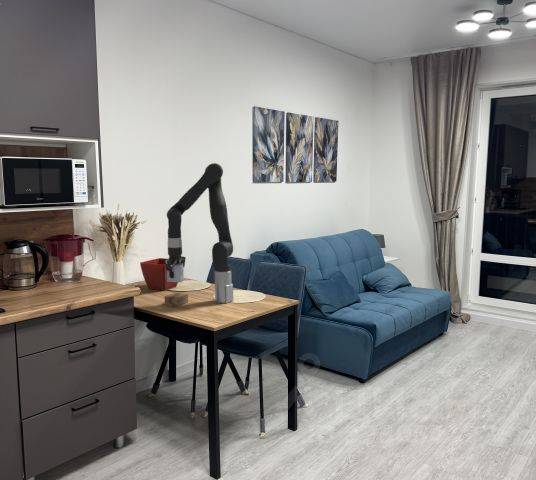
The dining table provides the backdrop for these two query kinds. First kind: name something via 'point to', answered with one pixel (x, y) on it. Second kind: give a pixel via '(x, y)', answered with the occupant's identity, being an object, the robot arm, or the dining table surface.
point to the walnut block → (176, 299)
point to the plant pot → (156, 274)
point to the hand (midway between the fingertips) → (175, 277)
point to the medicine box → (176, 274)
